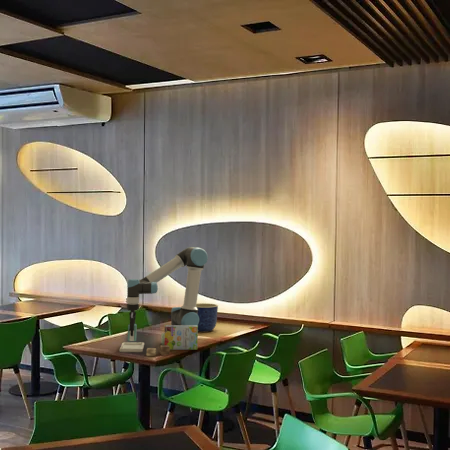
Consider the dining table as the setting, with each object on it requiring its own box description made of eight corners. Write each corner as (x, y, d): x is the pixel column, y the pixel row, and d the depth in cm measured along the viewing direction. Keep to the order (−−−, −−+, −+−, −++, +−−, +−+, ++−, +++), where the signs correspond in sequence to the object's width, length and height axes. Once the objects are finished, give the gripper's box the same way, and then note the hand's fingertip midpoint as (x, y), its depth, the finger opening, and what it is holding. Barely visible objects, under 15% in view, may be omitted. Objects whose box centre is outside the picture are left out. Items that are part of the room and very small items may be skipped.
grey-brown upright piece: (170, 343, 410) (170, 333, 410) (170, 345, 404) (170, 334, 404) (161, 343, 410) (161, 333, 410) (161, 345, 404) (161, 334, 404)
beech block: (156, 354, 376) (156, 348, 376) (154, 356, 372) (154, 349, 372) (148, 354, 377) (148, 347, 377) (146, 355, 373) (146, 349, 373)
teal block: (136, 339, 394) (136, 324, 394) (135, 341, 389) (136, 325, 389) (128, 339, 394) (128, 324, 394) (127, 341, 389) (128, 325, 389)
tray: (144, 345, 402) (144, 342, 402) (142, 352, 382) (142, 348, 382) (122, 345, 401) (122, 342, 401) (119, 352, 381) (119, 348, 381)
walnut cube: (167, 353, 381) (167, 345, 381) (169, 354, 377) (169, 346, 377) (159, 353, 380) (159, 345, 380) (161, 355, 375) (161, 347, 375)
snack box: (197, 348, 397) (197, 324, 397) (197, 350, 391) (197, 326, 391) (164, 347, 396) (165, 324, 396) (164, 349, 391) (164, 326, 390)
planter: (221, 332, 454) (222, 306, 454) (195, 333, 446) (195, 307, 446) (211, 327, 473) (212, 302, 473) (186, 328, 466) (186, 303, 465)
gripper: (128, 301, 400) (127, 337, 400) (125, 305, 382) (124, 342, 382) (139, 301, 401) (139, 337, 401) (137, 305, 383) (137, 342, 383)
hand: (132, 339), depth 391 cm, fingers closed on teal block, 5 cm apart
